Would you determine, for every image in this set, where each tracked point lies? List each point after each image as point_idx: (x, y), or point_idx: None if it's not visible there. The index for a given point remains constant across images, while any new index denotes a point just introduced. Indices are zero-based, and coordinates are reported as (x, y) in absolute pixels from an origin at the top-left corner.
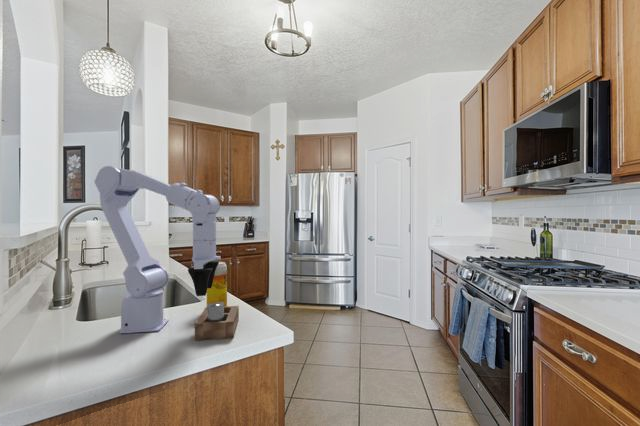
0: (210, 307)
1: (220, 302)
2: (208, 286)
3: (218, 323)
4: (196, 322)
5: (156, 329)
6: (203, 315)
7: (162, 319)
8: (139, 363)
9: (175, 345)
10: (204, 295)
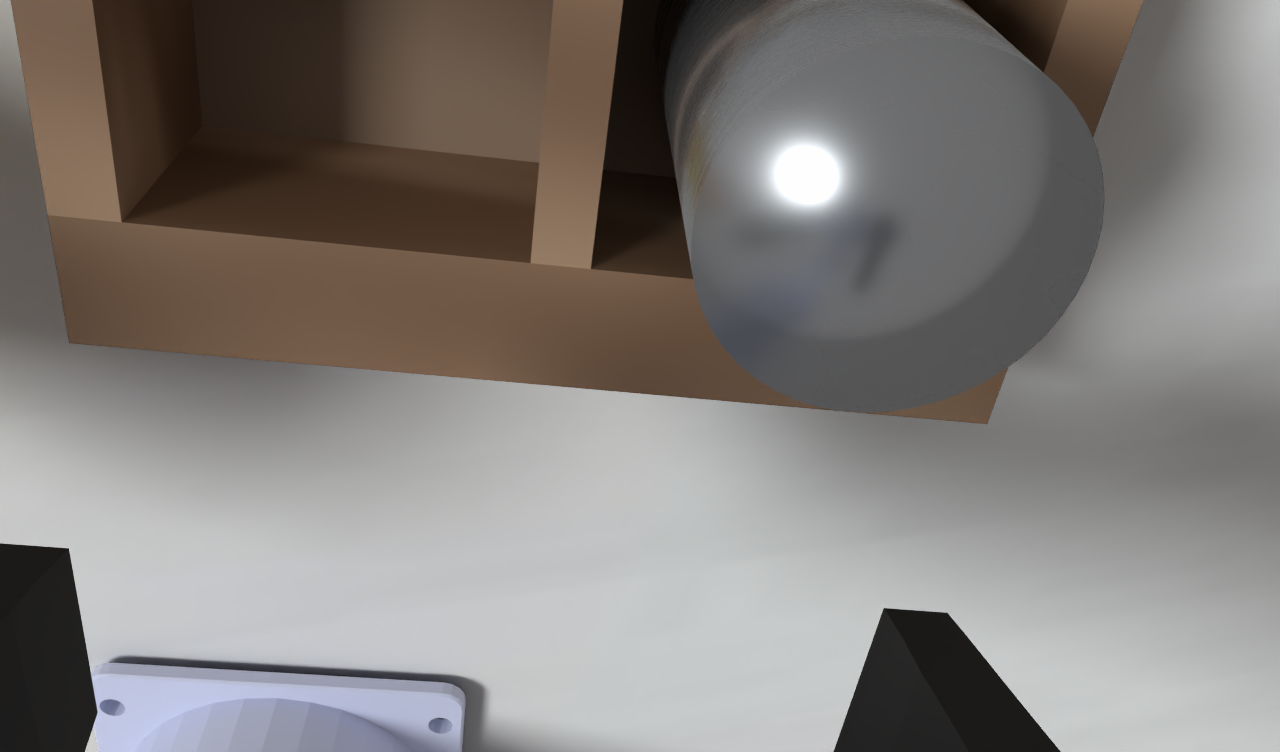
0: (1034, 335)
1: (759, 133)
2: (55, 650)
3: (1115, 52)
4: (917, 409)
5: (461, 717)
6: (584, 341)
7: (269, 747)
8: (1221, 662)
9: (957, 472)
10: (953, 631)
